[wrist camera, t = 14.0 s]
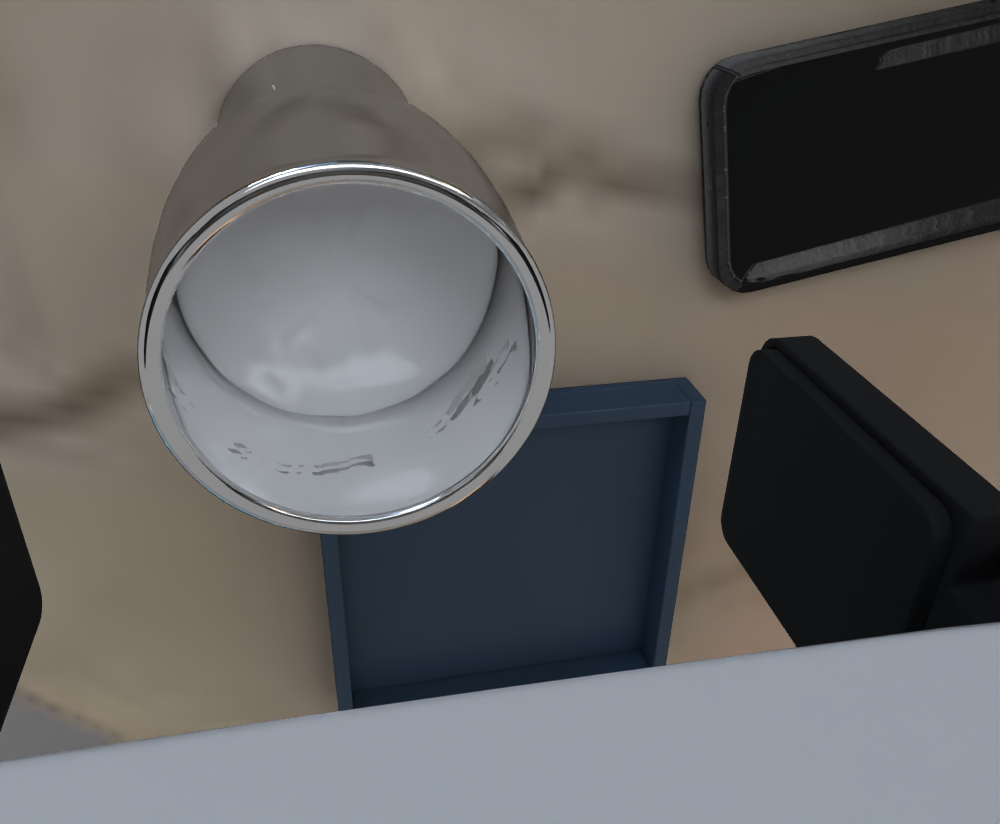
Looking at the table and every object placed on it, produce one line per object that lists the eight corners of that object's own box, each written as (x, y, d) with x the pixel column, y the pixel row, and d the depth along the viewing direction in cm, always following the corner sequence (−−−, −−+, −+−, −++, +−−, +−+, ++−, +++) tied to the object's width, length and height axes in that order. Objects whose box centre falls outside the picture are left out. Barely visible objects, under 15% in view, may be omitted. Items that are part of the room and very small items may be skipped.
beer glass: (464, 75, 26) (637, 225, 14) (396, 284, 29) (486, 572, 16) (228, -12, 24) (169, 74, 11) (178, 226, 27) (86, 511, 14)
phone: (1102, 203, 32) (720, 300, 31) (1078, 195, 33) (707, 288, 32) (1150, -33, 28) (712, 65, 27) (1121, -35, 29) (697, 59, 27)
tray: (686, 376, 33) (707, 400, 32) (648, 649, 40) (663, 680, 39) (308, 409, 31) (310, 436, 29) (337, 696, 38) (340, 731, 36)
